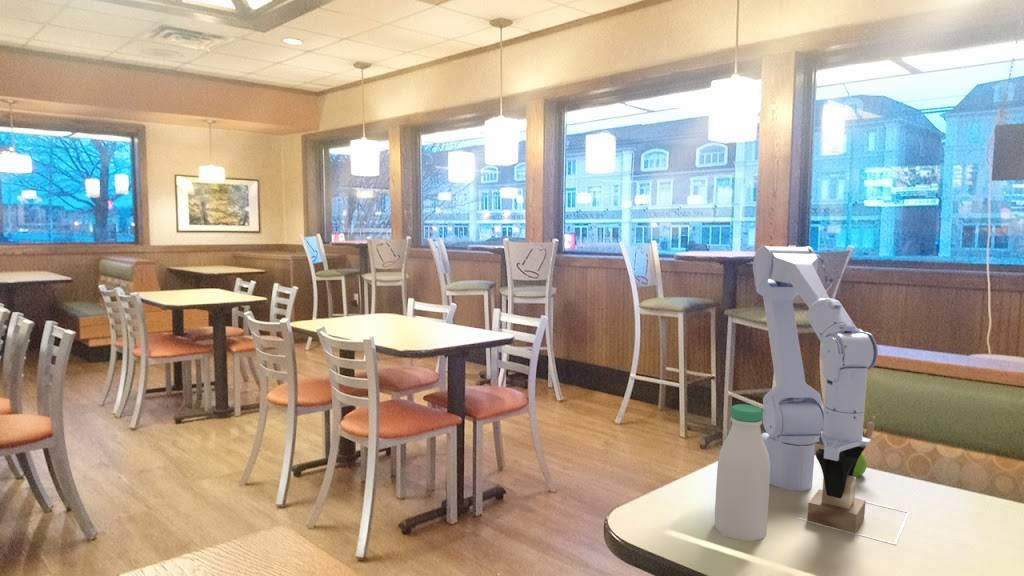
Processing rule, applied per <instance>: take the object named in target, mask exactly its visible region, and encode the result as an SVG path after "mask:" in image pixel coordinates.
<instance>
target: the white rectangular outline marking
mask: <svg viewBox="0 0 1024 576" xmlns="http://www.w3.org/2000/svg"><path fill="white" fill-rule="evenodd" d="M865 504H869V505H874V506H878V507H882V508H886V509H890V510H894V511H898V512H901V513H902V512H903V513H906V515H905V517H904V518H903V519H904V520H903V522H902V524H901V527H900V529H899V531H898V534H897V535H896V538H895V541H894V542H890V541H887V540H884V539H879V538H876V537H872V536H869V535H866V534H865V535H864V534H861V533H857V532H856V533H851V532H848V531H844V530H840V529H837V528H833V527H829V526H826V525H822V524H818V523H814V522H811V521H807V518H805V519H804V518H801V517H796V518H797V519H798V520H801V521H805V522H809V523H813V524H814V525H815V524H816V525H820V526H823V527H826V528H827V527H828V528H830V529H835V530H837V531H842V532H846V533H849V534H853V535H857V536H860V537H863V538H867V539H872V540H874V541H879V542H883V543H885V544H890V545H894V546H897V544H898V542H899V539H900V537H901V534H902V532H903V530H904V528H905V525H906V522H907V520H908V518H909V516H910V514H911V512H910V511H908V510H907V511H905V510H901V509H898V508H893V507H889V506H886V505H881V504H878V503H874V502H871V501H870V502H869V501H866V503H865Z"/></svg>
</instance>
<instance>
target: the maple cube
mask: <svg viewBox="0 0 1024 576" xmlns="http://www.w3.org/2000/svg"><path fill="white" fill-rule="evenodd" d="M856 483H857V477H854V476H849V475H848V477H847V481H846V485H845V489H844V493H843V495H842V497H841V498H836V497H832V496H828V495H827V493H826V489H825V483H824V477H823V481H822V490H823V491H822V503H826V504H830V505H834V506H838V507H842V508H846V509H850V507H851V505H852V504H853V502H854V500H855V498H856V485H857V484H856Z"/></svg>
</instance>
